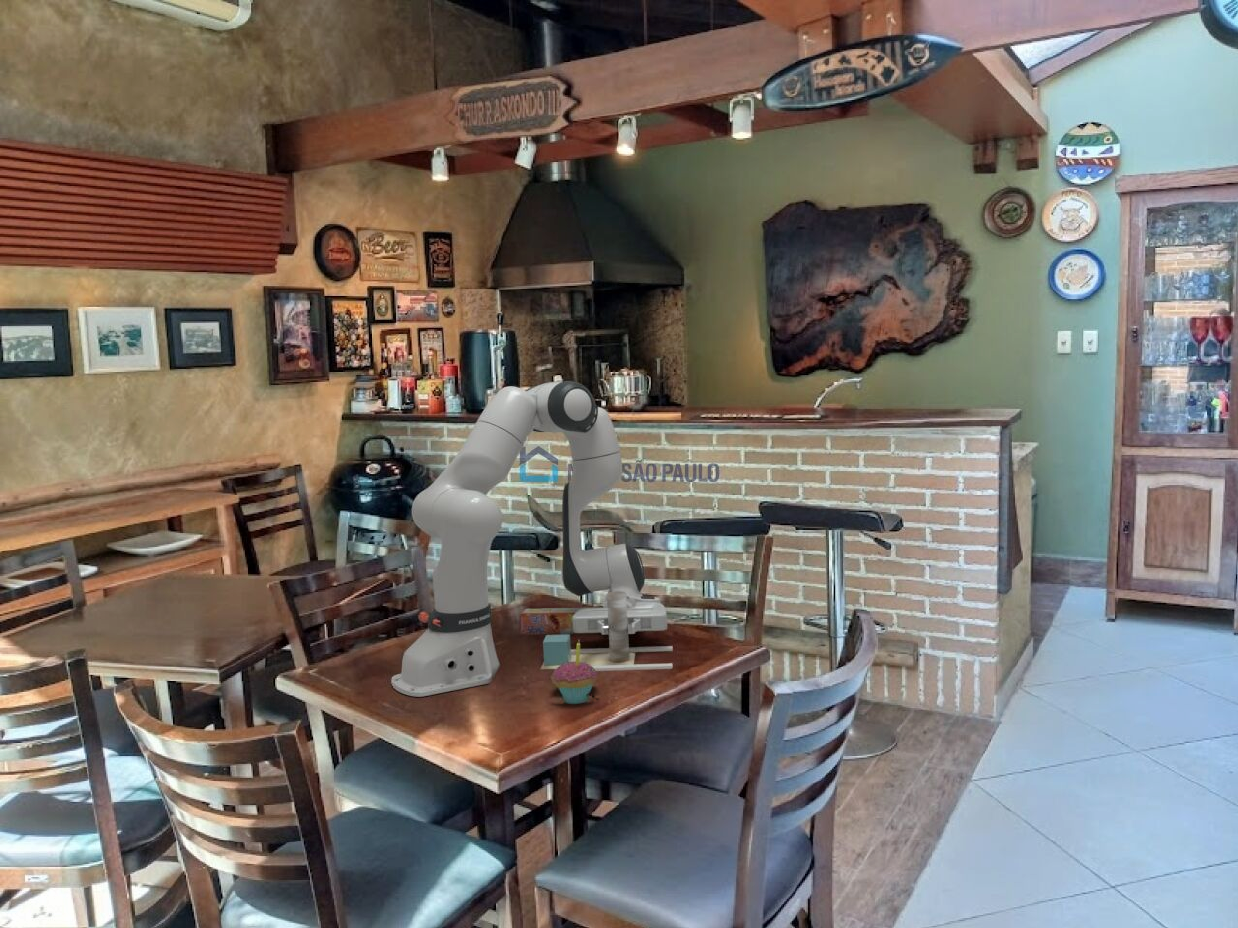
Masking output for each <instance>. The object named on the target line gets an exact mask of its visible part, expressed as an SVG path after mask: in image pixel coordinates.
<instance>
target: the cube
mask: <svg viewBox="0 0 1238 928" xmlns="http://www.w3.org/2000/svg"><path fill="white" fill-rule="evenodd" d="M571 646H572V645H571V634H548V635H545V637H544V639H543V642H542V648H543V649H542V650H543V660H544V661H543V662H544V666H556V665H561V664H564V663H566V662H570V660H571V649H572V647H571Z"/></svg>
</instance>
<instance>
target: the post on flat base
mask: <svg viewBox="0 0 1238 928" xmlns="http://www.w3.org/2000/svg"><path fill="white" fill-rule="evenodd" d="M606 595H607V609H608V627H609V634H608V640H609V641H608V642H609V643H608V644H609V648H610V653H591V654H580V658H579V662H585V663H586V664H590V665H591V666H604V665H635V664H634V663H635V657H636V652H629V647H630V644H629V640H630V639H629V634H628V629H627V625H628V621H627V602H626V593H625V592H621V591H616V592H610V593H608V592H607V593H606ZM571 661H572V662H576V654H571V660H570V662H571ZM559 666H560V665H556V666H544V661H543V662H542V665H541V667H540V670H555V669H557V668H558V667H559Z"/></svg>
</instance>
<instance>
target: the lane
mask: <svg viewBox="0 0 1238 928" xmlns="http://www.w3.org/2000/svg"><path fill="white" fill-rule="evenodd" d="M576 649H577V648H574V649H572V648H571V654H576ZM673 649H674V648H673V645H668V646H667V645H666V646H665V645H664V646H663V645H662V646H638V647H637V646H636V647H635V646H634V647H633V646H632V647H630V646H629V653H634V652H635V653H647V652H648V653H650V652H653V653H654V652H673V651H674V650H673ZM602 653H610V647H607V648H605V647H601V648H600V647H598V648H580V654H602ZM592 667H593V668H594V669H595V672H605V671H636V670H639V671H640V670H643V671H644V670H665V669H666V670H671V669H673V667H674V665H673V662H671V663H670V662H669V663H645V664H643V663H641V664H640V663H639V664H638V663H637V664H634V665H604V666H592Z"/></svg>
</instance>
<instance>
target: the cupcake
mask: <svg viewBox="0 0 1238 928" xmlns="http://www.w3.org/2000/svg"><path fill="white" fill-rule="evenodd" d="M577 641H578V642H577V643H576V648H575V649H576V662H572V661H571V662H566V663H564V664H561V665H560V666H559V667H558V668H557V669H553V672H552V674H551V676H550V679H551V682H552V684H553V685H554V686H555V687H557V688H558V690H559V692H560V694H561V696H562V697H561V698H562V699H563V701H564V703H566V704H570V705H578V704H582V703H585V702H587V701H588V700H589V699H590V692H591V691H592V688H593V685H594V684H595V682H596V681H597V676H598V675H597V671H595V669H594V668H593V667H592V666H591V665H590V664H586V663H585V662H579V658H580V649H581V643H580V639H578V640H577Z"/></svg>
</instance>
